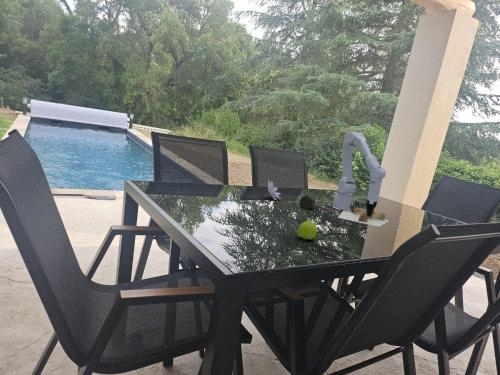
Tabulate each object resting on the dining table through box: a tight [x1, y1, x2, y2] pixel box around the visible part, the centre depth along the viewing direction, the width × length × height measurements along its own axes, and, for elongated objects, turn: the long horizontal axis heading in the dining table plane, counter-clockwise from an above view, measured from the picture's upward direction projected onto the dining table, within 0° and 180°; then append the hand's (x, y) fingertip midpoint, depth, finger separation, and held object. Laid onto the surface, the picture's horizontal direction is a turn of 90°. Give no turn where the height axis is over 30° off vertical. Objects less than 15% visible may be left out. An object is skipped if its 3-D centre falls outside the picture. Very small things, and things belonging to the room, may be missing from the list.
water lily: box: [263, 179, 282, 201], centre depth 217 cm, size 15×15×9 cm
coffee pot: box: [299, 195, 335, 213], centre depth 204 cm, size 8×18×8 cm
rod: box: [353, 207, 387, 221], centre depth 205 cm, size 16×3×3 cm, turn 69°
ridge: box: [359, 213, 368, 223], centre depth 194 cm, size 4×8×3 cm, turn 159°
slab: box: [337, 210, 389, 228], centre depth 198 cm, size 24×22×1 cm
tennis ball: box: [298, 220, 318, 241], centre depth 148 cm, size 7×7×7 cm
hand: (369, 215), depth 205 cm, fingers open, 7 cm apart
